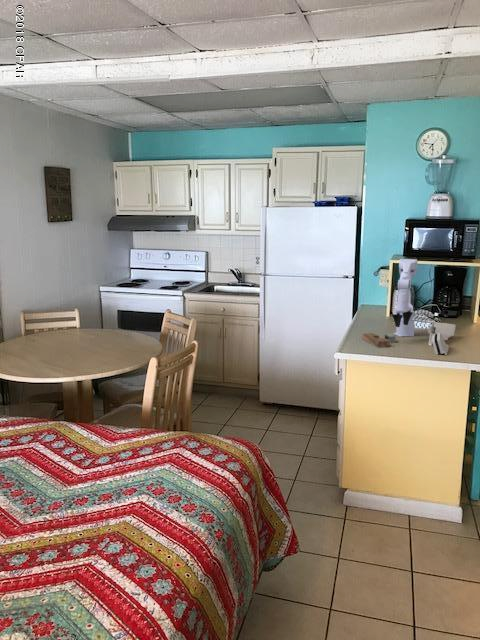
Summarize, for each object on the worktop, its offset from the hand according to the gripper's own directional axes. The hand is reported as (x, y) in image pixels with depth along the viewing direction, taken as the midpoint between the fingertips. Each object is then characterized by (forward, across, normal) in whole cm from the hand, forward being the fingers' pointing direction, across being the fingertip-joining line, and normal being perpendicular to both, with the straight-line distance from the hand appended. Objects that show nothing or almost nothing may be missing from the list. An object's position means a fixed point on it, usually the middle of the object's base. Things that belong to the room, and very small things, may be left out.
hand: (401, 325), depth 287 cm
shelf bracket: (+9, -17, +14) cm, 24 cm away
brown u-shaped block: (+8, +14, -6) cm, 17 cm away
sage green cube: (+8, +6, -3) cm, 11 cm away
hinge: (+9, +2, +24) cm, 26 cm away
